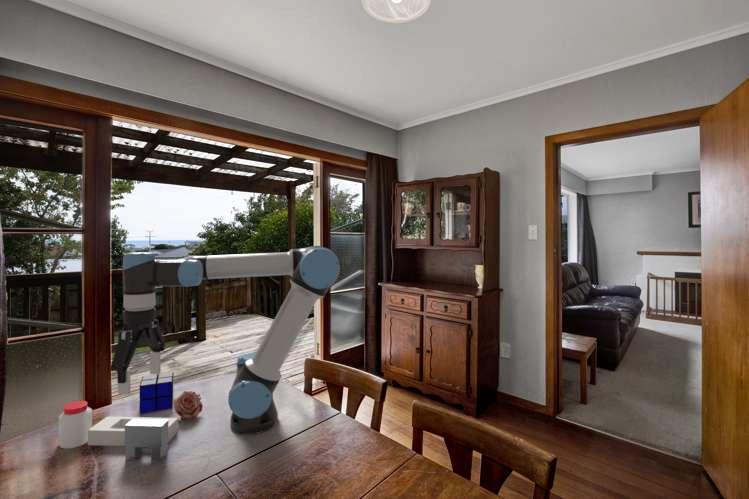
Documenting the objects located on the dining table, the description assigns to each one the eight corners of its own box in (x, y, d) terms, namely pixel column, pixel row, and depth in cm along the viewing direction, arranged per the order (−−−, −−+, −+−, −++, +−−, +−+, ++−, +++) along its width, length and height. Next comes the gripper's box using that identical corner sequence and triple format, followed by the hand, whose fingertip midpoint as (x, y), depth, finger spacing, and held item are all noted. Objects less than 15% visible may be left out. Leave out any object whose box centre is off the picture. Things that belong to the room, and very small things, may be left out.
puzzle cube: (139, 414, 126) (139, 386, 125) (142, 402, 135) (142, 375, 134) (172, 409, 131) (172, 381, 130) (173, 397, 139) (173, 371, 139)
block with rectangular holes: (177, 431, 116) (177, 418, 116) (163, 446, 108) (163, 431, 108) (107, 430, 116) (107, 416, 115) (87, 445, 108) (87, 430, 107)
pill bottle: (73, 450, 105) (73, 413, 104) (51, 446, 106) (51, 409, 106) (98, 435, 112) (98, 400, 112) (78, 432, 114) (78, 397, 113)
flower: (163, 413, 124) (169, 399, 120) (185, 397, 132) (192, 383, 129) (182, 433, 122) (189, 419, 119) (204, 415, 130) (211, 402, 127)
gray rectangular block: (168, 453, 105) (168, 419, 104) (161, 461, 101) (161, 426, 101) (132, 453, 105) (132, 418, 104) (124, 460, 101) (124, 425, 101)
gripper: (153, 299, 114) (154, 366, 115) (91, 318, 89) (93, 403, 90) (177, 299, 114) (177, 366, 115) (122, 319, 89) (124, 404, 90)
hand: (140, 383), depth 103 cm, fingers open, 13 cm apart
